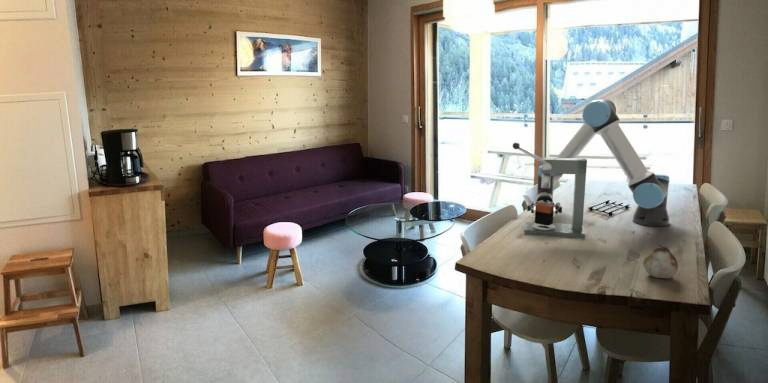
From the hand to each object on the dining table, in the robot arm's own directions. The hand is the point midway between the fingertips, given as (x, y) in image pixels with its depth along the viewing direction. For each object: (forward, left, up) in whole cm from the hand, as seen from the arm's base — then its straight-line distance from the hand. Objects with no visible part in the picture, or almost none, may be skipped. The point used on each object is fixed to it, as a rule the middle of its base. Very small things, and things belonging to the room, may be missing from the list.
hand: (544, 213), depth 214 cm
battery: (0, -5, -6) cm, 8 cm away
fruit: (-38, +40, -10) cm, 56 cm away
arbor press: (-1, -5, -9) cm, 11 cm away
